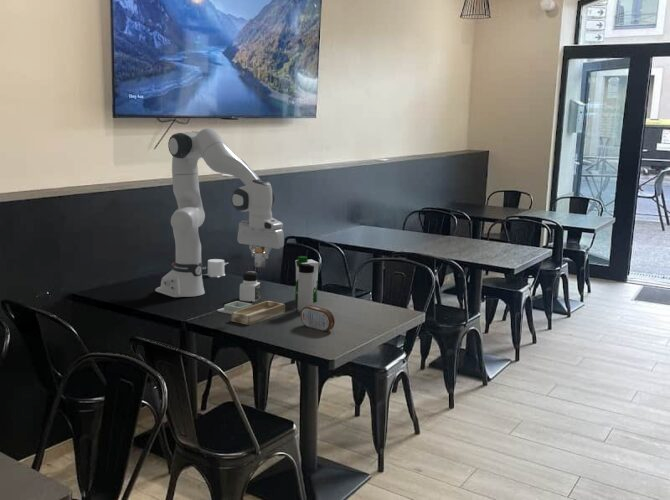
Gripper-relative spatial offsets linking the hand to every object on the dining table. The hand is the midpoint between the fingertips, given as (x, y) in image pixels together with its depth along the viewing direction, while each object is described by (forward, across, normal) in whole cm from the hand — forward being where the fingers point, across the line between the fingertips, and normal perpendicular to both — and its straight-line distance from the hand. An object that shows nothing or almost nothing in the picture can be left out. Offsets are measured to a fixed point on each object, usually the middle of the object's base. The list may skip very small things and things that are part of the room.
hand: (259, 257), depth 271 cm
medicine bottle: (+24, -20, +19) cm, 37 cm away
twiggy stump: (+24, -62, +46) cm, 81 cm away
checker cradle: (+24, -12, +2) cm, 27 cm away
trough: (+24, 0, 0) cm, 24 cm away
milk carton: (+24, +2, +31) cm, 39 cm away
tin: (+24, +27, 0) cm, 36 cm away
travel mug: (+24, +10, +18) cm, 31 cm away
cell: (+4, 0, 0) cm, 4 cm away
